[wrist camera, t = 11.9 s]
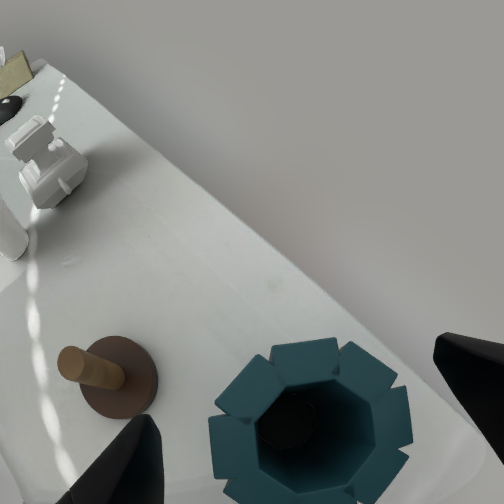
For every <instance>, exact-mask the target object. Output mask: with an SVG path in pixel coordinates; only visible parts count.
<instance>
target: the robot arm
mask: <svg viewBox="0 0 504 504" xmlns="http://www.w3.org/2000/svg"><path fill="white" fill-rule="evenodd" d="M433 360H434V363H435V365H436V366H437V368H438V370H439V371H440V373H441V374H442V376H443V378H444V379H445V381H446V382H447V384H448V386H449V387H450V389H451V391H452V392H453V394H454V395H455V397H456V398H457V400H458V401H459V402H460V404H461V405H462V406H463V407H464V409H465V410H466V412H467V413H468V414H469V416H470V417H471V419H472V420H473V421H474V423H475V424H476V425H477V427H478V428H479V430H480V431H481V432H482V434H483V435H484V437H485V438H486V440H487V441H488V443H489V444H490V445H491V447H492V448H493V449H494V451H495V453H496V454H497V455H498V457H499V459H500V460H501V462H502V463H503V465H504V344H500V343H496V342H490V341H486V340H481V339H476V338H472V337H467V336H462V335H458V334H453V333H449V332H446V333H444V334H441V335H440V336H438V337H437V338H436V342H435V348H434V353H433ZM56 504H164V467H163V454H162V439H161V434H160V431H159V429H158V428H157V426H156V424H155V422H154V421H153V419H152V417H151V416H150V415H149V414H138V415H135V416H134V417H133V418H132V419H131V421H130V422H129V423H128V424H127V425H126V426H125V427H124V429H123V430H122V431H121V432H120V433H119V434H118V435H117V436H116V438H115V439H114V440H113V441H112V442H111V443H110V444H109V446H108V447H107V448H106V449H105V450H104V451H103V452H102V453H101V455H100V456H99V457H98V458H97V459H96V460H95V461H94V462H93V463H92V465H91V466H90V467H89V468H88V469H87V470H86V471H85V472H84V473H83V475H82V476H81V477H80V478H79V479H78V480H77V481H76V482H75V483H74V485H73V486H72V487H71V488H70V489H69V491H67V492H66V493H65V494H64V495H63V496H62V498H61V499H60V500H59V501H58V502H57V503H56Z"/></svg>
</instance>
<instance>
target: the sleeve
mask: <svg viewBox="0 0 504 504" xmlns="http://www.w3.org/2000/svg"><path fill="white" fill-rule="evenodd" d="M397 375H398V374H397V373H396V372H395V371H393V370H392V369H390V368H389V367H388V366H386V365H385V364H383V363H382V362H380V361H379V360H378V359H376V358H375V357H373V356H372V355H370V354H369V353H368V352H366V351H365V350H363V349H362V348H361V347H359V346H358V345H356V344H355V343H353V342H352V341H350V342H348V343H347V344H346V345H344V346H343V347H342V348H341V349H338V344H337V339H336V338H335V337H332V338H326V339H319V340H312V341H305V342H298V343H290V344H281V345H274V346H272V348H271V353H270V358H269V361H268V360H266V359H265V358H264V357H262V356H261V355H259V354H257V355H255V356H254V358H253V359H252V360H251V361H250V362H249V363H248V364H247V366H246V367H245V368H244V369H243V370H242V371H241V372H240V374H239V375H238V376H237V377H236V378H235V379H234V380H233V381H232V383H231V384H230V385H229V386H228V387H227V388H226V389H225V390H224V391H223V392H222V394H221V395H220V396H219V397H218V398H217V399H216V400H215V402H214V403H215V405H216V406H217V407H218V408H220V409H221V410H222V411H223V412H224V413H226V414H222V415H217V416H211V417H209V418H208V423H209V434H210V445H211V455H212V464H213V473H214V478H215V479H228V481H227V483H226V485H225V488H224V490H223V493H225V494H226V495H227V496H229V497H230V498H232V499H233V500H235V501H236V502H237V503H239V504H357V501H359V502H361V503H363V504H374V503H375V502H376V501H377V500H378V498H379V497H380V496H381V495H382V494H383V492H384V491H385V490H386V488H387V487H388V486H389V485H390V483H391V482H392V481H393V479H394V478H395V477H396V475H397V474H398V473H399V471H400V470H401V468H402V467H403V466H404V464H405V463H406V461H407V460H408V458H409V456H408V455H407V454H405V453H403V452H402V451H400V450H398V448H401V447H404V446H407V445H409V444H412V443H413V434H412V425H411V417H410V409H409V402H408V396H407V389H406V386H400V387H396V388H391V386H392V384H393V383H394V381H395V379H396V378H397ZM390 388H391V389H390ZM294 394H296V395H297V396H298V397H300V398H301V399H302V400H304V401H305V402H307V403H308V404H310V405H311V406H312V407H313V409H314V418H315V426H316V429H315V430H314V431H313V432H312V434H311V435H310V436H309V437H308V438H307V440H306V441H305V442H304V443H303V444H302V446H298V447H291V448H283V449H277V448H275V447H274V446H273V445H271V444H270V443H268V442H267V441H266V440H264V439H263V438H262V437H260V436H259V427H258V419H259V418H260V417H261V416H262V415H263V414H264V413H265V412H266V410H267V409H268V408H269V407H270V406H271V405H272V403H273V402H274V401H275V400H276V399H277V398H278V397H279V396H287V395H294Z"/></svg>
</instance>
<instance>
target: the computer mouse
mask: <svg viewBox="0 0 504 504" xmlns="http://www.w3.org/2000/svg"><path fill="white" fill-rule="evenodd" d="M21 104H22V99H21V98H20V97H19V96H8V97H4V98H2V99H0V125H1V124H2V123H4V122H5V121H7V120H9V119H10V118H11V117H13V116H14V114H15V113H16V112H17V110H18V109H19V107H20V106H21Z"/></svg>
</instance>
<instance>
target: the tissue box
mask: <svg viewBox="0 0 504 504" xmlns="http://www.w3.org/2000/svg"><path fill="white" fill-rule="evenodd" d="M31 79H33V75H32V71H31V69H30V66H29V62H28V60H27V57H26V56H25V53H24V51H23V50H22V51H20V52H19V53H17V54H16V55H14V56H13V57H11V58H10V59H8V60H7V61H5V54H4V49H3V46H1V47H0V99H2V98H4V97H7V96H9V95H10V94H11V93H13V92H14V91H15V90H17V89H18V88H20V87H21V86H23V85H24V84H25V83H27V82H28V81H30V80H31Z"/></svg>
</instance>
